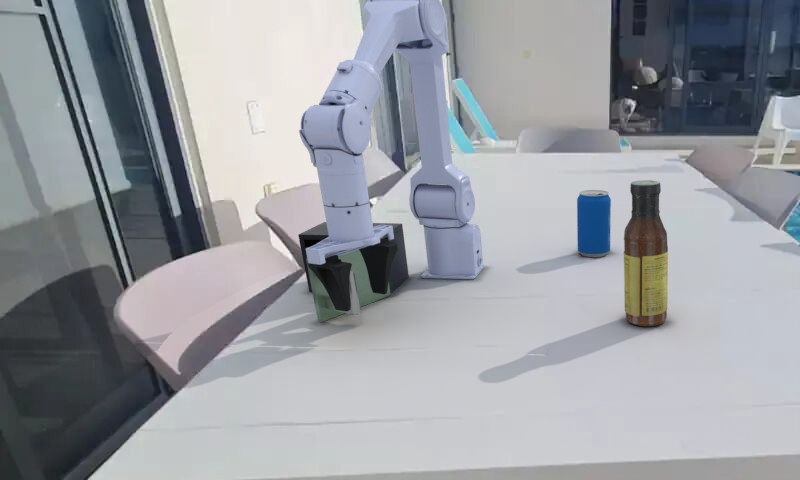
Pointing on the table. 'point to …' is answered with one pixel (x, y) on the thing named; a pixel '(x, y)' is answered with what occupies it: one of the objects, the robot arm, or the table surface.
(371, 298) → the machine door
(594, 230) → the beverage can
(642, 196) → the sauce bottle
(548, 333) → the table surface
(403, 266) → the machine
